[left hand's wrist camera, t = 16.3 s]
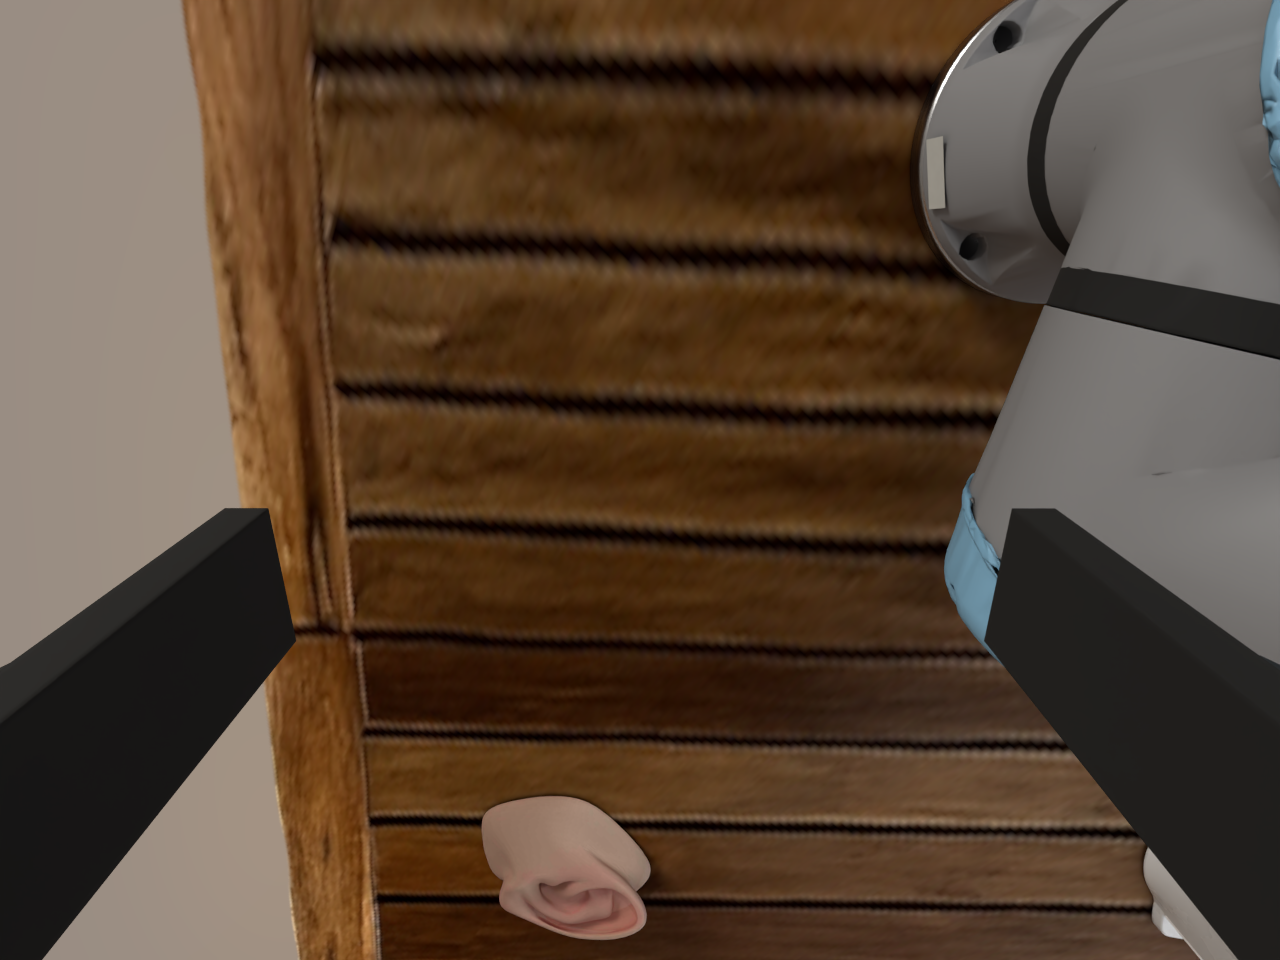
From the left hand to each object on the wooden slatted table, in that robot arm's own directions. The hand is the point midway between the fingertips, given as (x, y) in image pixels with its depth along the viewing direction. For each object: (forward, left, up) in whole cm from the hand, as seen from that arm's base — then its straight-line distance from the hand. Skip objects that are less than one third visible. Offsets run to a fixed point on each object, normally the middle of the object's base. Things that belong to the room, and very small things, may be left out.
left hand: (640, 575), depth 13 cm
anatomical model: (+6, +41, -30) cm, 51 cm away
